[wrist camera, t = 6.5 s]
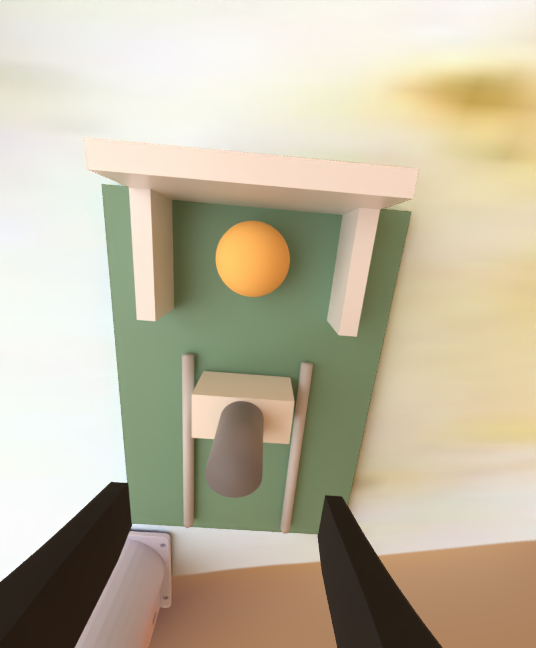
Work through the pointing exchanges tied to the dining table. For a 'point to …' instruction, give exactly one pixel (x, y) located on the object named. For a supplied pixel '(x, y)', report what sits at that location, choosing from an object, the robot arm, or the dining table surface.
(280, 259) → the ball
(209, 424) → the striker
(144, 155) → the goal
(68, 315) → the dining table surface
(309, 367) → the pitch
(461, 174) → the dining table surface
